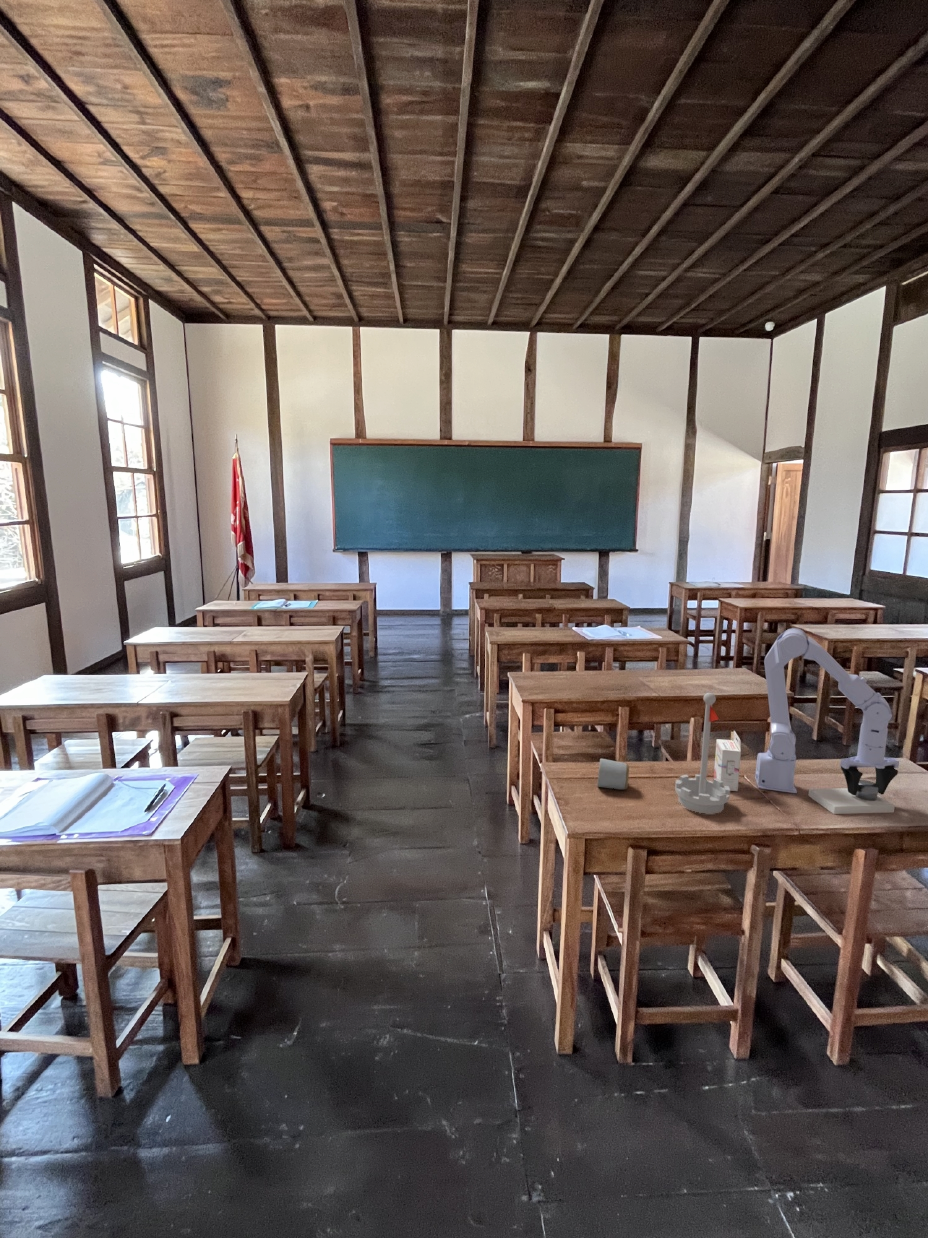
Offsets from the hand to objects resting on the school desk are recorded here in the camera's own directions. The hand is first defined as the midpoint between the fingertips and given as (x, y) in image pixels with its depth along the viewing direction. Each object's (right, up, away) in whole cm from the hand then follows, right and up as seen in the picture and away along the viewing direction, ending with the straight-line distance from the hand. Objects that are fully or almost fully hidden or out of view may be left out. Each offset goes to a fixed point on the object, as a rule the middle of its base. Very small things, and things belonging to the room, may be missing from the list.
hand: (865, 793), depth 155 cm
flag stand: (-43, -3, -1) cm, 44 cm away
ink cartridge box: (-32, -1, +11) cm, 34 cm away
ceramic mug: (-64, -1, +10) cm, 65 cm away
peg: (0, -3, 0) cm, 3 cm away
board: (-4, -3, 0) cm, 5 cm away
